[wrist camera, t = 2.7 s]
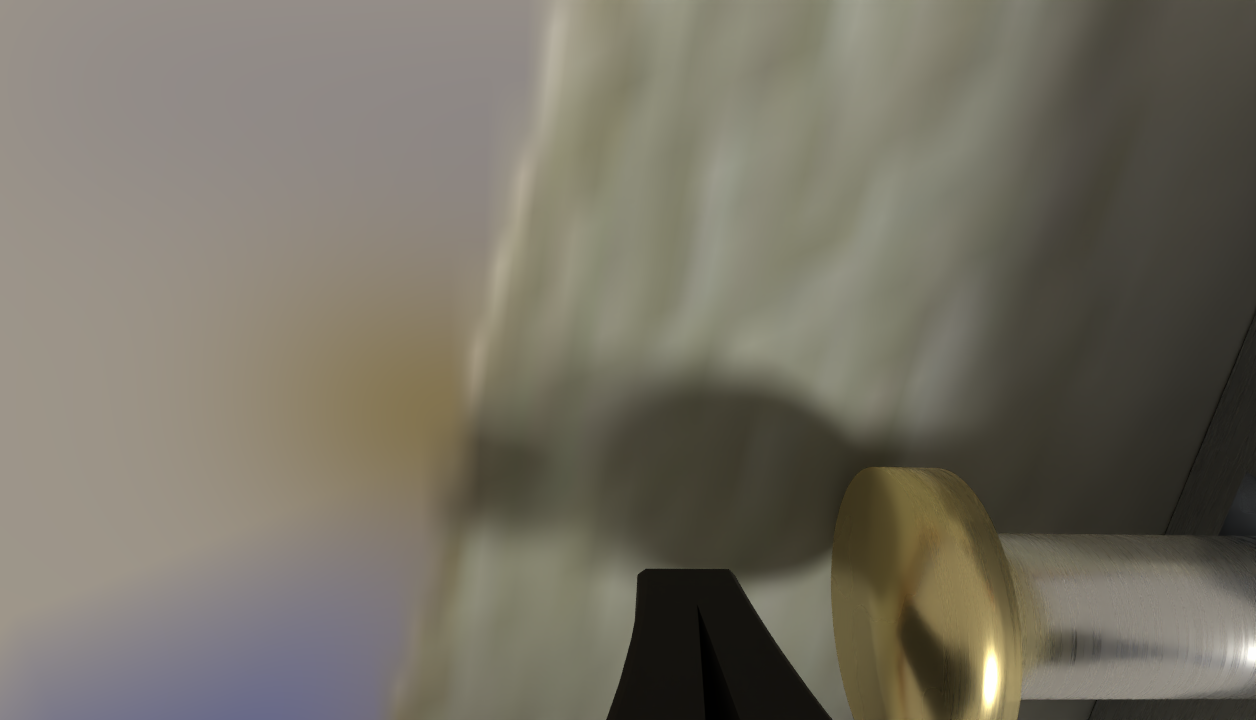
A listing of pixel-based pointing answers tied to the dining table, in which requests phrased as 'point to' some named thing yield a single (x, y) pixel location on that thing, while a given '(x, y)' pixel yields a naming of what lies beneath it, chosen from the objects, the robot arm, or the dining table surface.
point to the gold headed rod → (1025, 608)
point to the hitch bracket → (1212, 523)
